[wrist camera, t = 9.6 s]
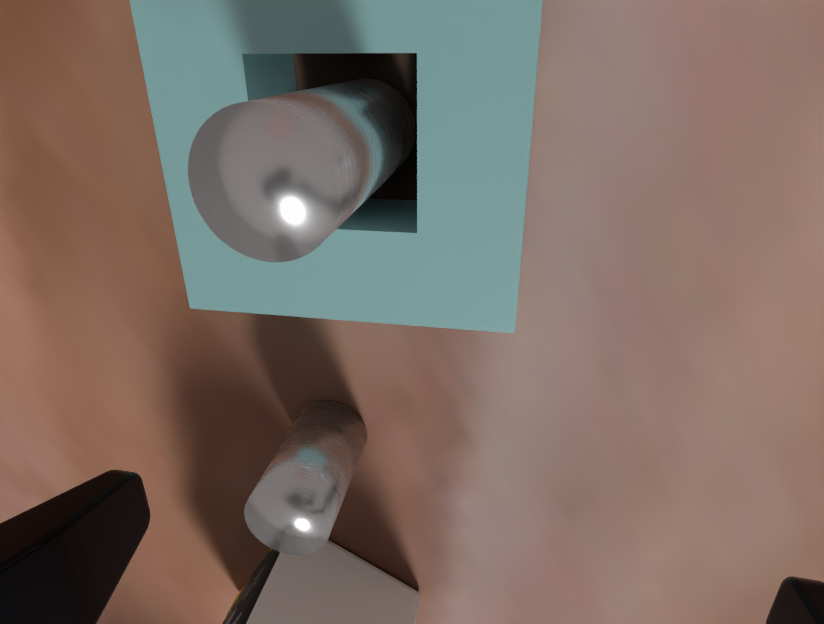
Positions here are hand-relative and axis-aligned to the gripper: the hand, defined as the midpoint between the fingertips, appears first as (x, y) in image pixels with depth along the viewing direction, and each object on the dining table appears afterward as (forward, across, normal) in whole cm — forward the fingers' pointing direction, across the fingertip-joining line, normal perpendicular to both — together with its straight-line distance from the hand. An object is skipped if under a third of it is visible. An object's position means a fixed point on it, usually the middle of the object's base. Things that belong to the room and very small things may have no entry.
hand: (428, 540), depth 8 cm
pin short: (+12, +6, +8) cm, 16 cm away
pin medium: (+12, +4, -4) cm, 13 cm away
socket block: (+12, +4, -4) cm, 13 cm away
